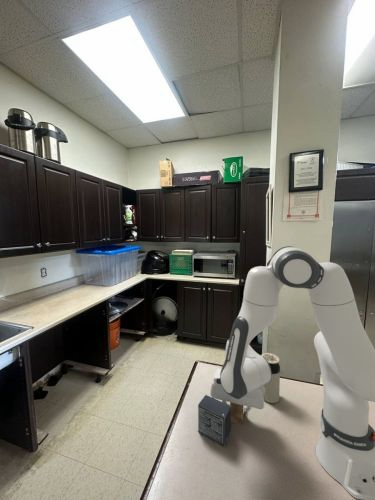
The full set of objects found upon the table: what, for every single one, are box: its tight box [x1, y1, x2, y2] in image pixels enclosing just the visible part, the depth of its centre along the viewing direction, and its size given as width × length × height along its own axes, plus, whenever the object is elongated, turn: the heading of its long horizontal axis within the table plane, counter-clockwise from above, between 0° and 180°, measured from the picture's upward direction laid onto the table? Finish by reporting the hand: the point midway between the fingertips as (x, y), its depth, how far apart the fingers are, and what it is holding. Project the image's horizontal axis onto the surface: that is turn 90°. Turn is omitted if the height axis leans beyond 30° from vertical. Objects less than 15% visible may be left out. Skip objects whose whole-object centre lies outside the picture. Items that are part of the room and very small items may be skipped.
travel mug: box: [260, 352, 281, 404], centre depth 92 cm, size 8×8×18 cm
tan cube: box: [229, 402, 244, 425], centre depth 82 cm, size 5×5×5 cm
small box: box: [197, 394, 232, 447], centre depth 75 cm, size 11×6×10 cm, turn 58°
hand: (236, 411), depth 82 cm, fingers open, 6 cm apart
